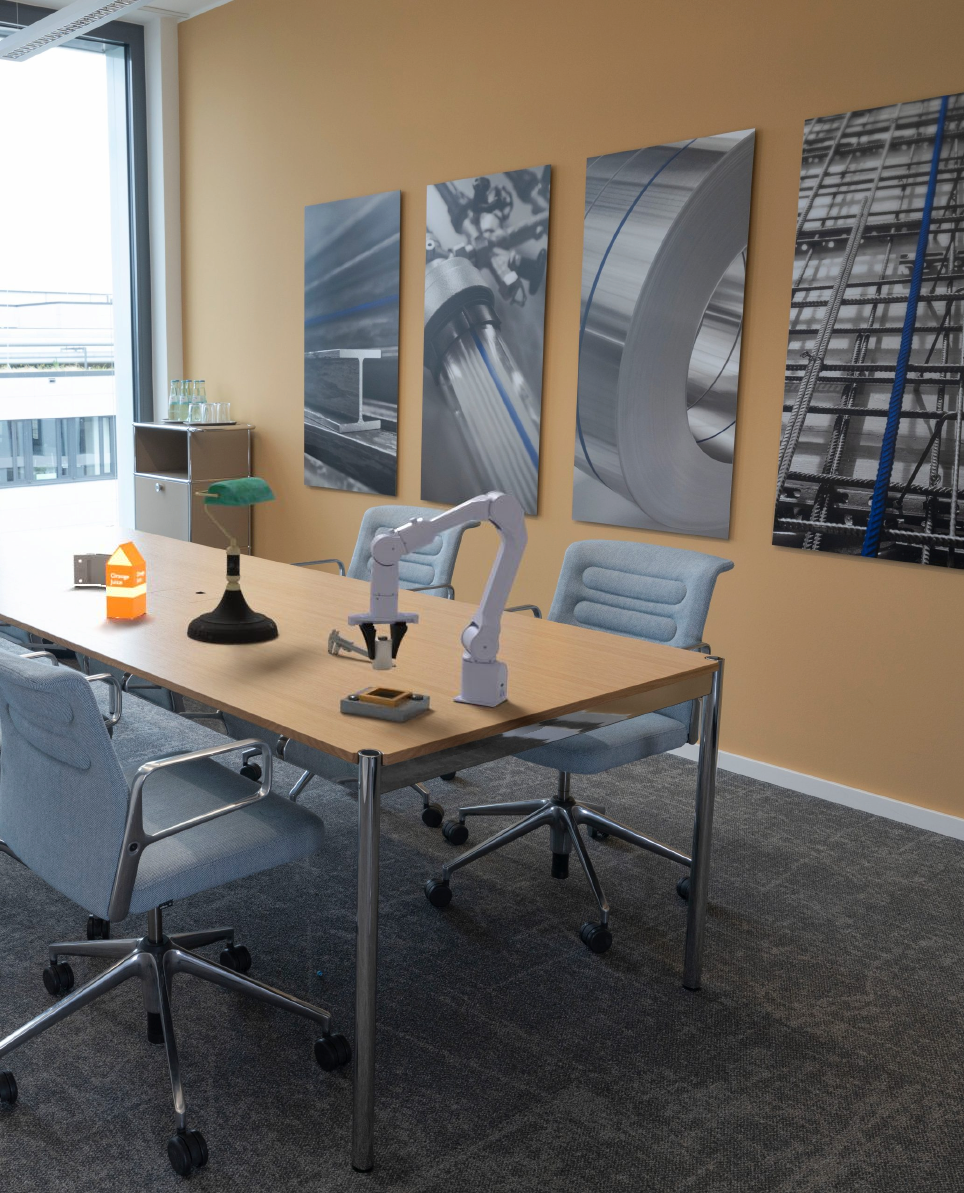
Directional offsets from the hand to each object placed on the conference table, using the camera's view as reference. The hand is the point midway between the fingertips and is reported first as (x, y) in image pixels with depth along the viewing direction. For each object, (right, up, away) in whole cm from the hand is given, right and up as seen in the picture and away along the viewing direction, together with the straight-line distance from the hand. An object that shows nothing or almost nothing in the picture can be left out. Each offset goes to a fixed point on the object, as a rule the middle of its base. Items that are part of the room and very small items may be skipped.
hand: (382, 658), depth 225 cm
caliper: (-8, -3, +37) cm, 38 cm away
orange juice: (-77, +7, +74) cm, 107 cm away
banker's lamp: (-44, +3, +58) cm, 73 cm away
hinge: (-99, +16, +114) cm, 152 cm away
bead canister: (0, -2, +1) cm, 2 cm away
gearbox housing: (+1, -10, -4) cm, 11 cm away
